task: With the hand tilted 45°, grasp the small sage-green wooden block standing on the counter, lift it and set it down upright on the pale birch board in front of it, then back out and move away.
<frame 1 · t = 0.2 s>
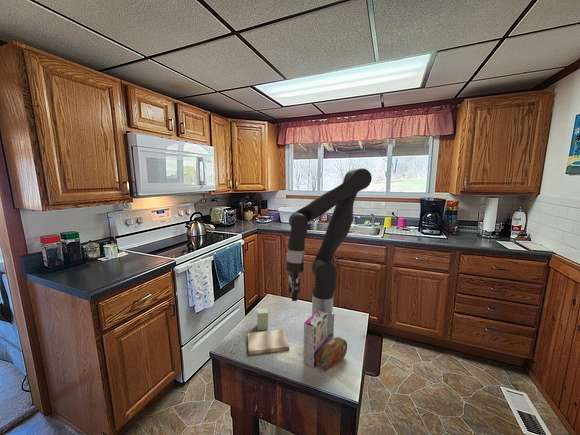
hand: (292, 296, 106), 18 cm above the table, tool pointing down, fingers open, 8 cm apart
sage block: (262, 327, 114), on the table
tin: (331, 363, 91), on the table
candy bar box: (315, 358, 94), on the table
birch board: (267, 342, 102), on the table
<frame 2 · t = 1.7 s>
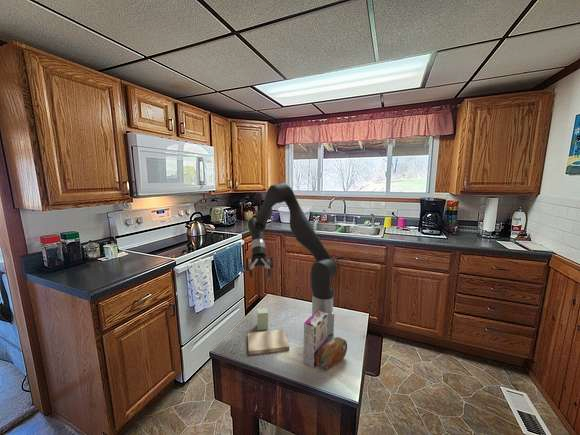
hand: (260, 277, 124), 19 cm above the table, tool tilted 45°, fingers open, 8 cm apart
nothing on the table moved.
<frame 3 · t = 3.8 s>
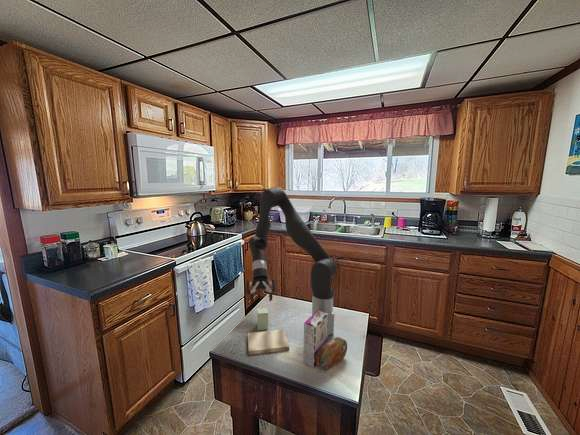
hand: (261, 301, 118), 10 cm above the table, tool tilted 45°, fingers open, 8 cm apart
nothing on the table moved.
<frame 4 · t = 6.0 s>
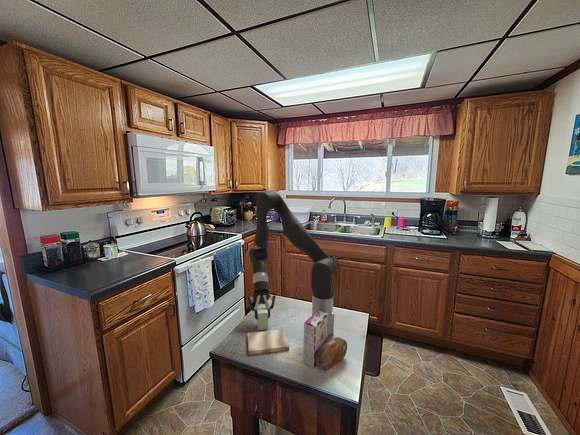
hand: (262, 318, 112), 5 cm above the table, tool tilted 45°, fingers closed on sage block, 4 cm apart
sage block: (262, 326, 114), on the table, touching gripper
everything else where it was.
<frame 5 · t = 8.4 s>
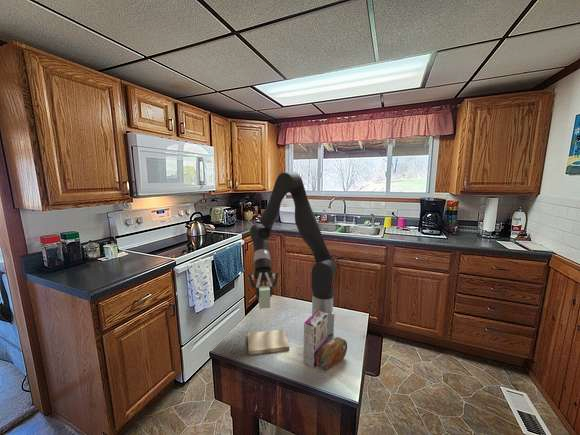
hand: (264, 296, 105), 18 cm above the table, tool tilted 45°, fingers closed on sage block, 4 cm apart
sage block: (264, 305, 107), point 13 cm above the table, touching gripper
everything else where it was.
when the fingers open (8 cm above the table, at t = 10.7 s): sage block drops 1 cm, resting on birch board.
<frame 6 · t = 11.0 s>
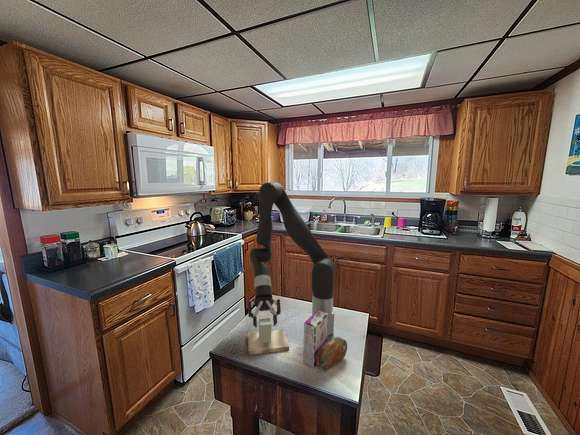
hand: (265, 326, 100), 8 cm above the table, tool tilted 45°, fingers open, 7 cm apart
sage block: (265, 339, 102), point 1 cm above the table, touching birch board
everything else where it was.
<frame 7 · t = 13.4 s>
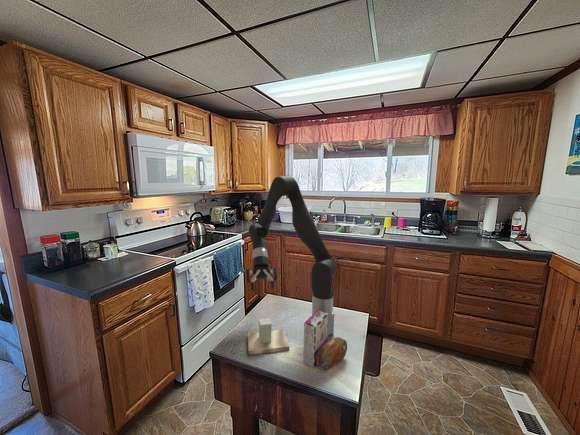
hand: (262, 290, 111), 18 cm above the table, tool tilted 45°, fingers open, 8 cm apart
nothing on the table moved.
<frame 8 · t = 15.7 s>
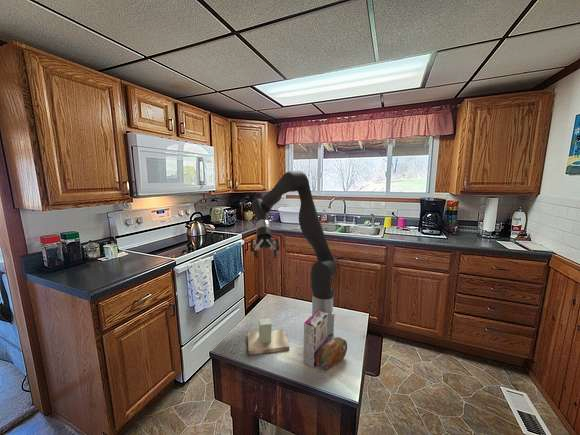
hand: (265, 258, 117), 31 cm above the table, tool tilted 45°, fingers open, 8 cm apart
nothing on the table moved.
at the end: sage block inside the target area on the birch board (1.1 cm from its centre), point 1.5 cm above the birch board's base; sage block tilted 0°; the gripper is holding nothing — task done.
